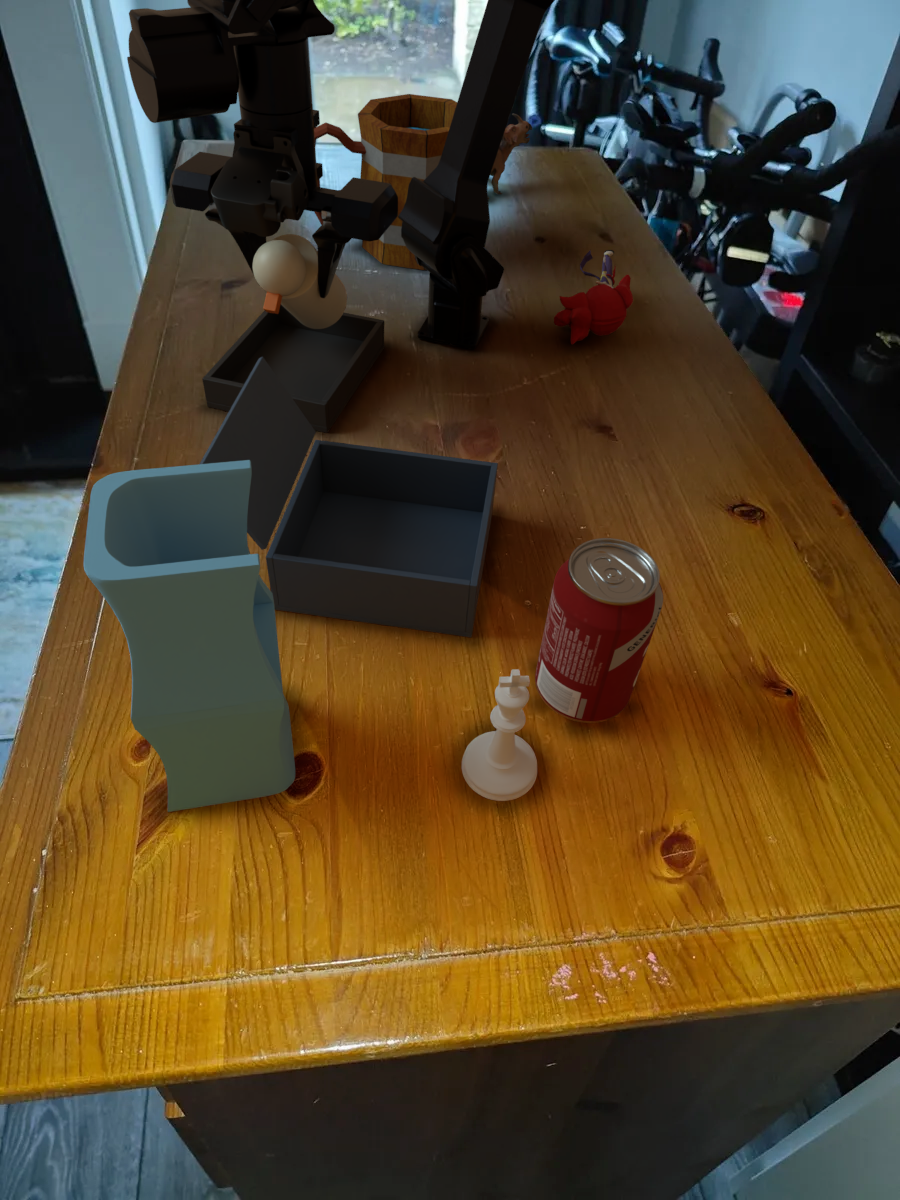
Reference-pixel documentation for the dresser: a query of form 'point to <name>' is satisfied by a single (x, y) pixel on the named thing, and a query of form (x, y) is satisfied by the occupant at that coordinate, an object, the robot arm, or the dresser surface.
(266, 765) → the vase
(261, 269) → the duck
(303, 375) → the tray
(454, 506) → the dark square open box
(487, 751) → the chess piece
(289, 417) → the flap
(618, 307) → the figurine
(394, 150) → the mug
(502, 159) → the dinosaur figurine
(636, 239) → the dresser surface
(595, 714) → the soda can
